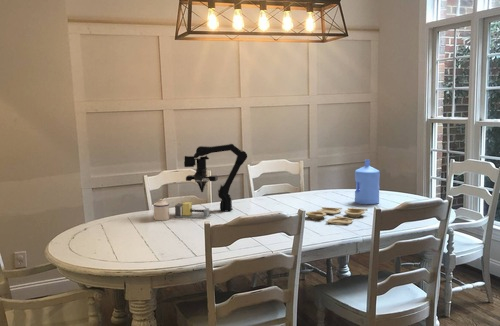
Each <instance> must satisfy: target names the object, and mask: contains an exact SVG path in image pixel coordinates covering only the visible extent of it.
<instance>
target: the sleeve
mask: <svg viewBox="0 0 500 326" xmlns="http://www.w3.org/2000/svg"><path fill="white" fill-rule="evenodd" d="M190 209H193V202H192V201H191V202H190V201H185V202H183V215H188V216H190V215H191V214H193V212H190Z"/></svg>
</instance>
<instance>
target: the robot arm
mask: <svg viewBox="0 0 500 326" xmlns="http://www.w3.org/2000/svg"><path fill="white" fill-rule="evenodd" d="M195 151H196V152H195V154H194V155H193V156H192V155H184V164H183V165H184V166H183V167H184V168H194V167H195V166H196V169H195V173H194V174H188V175H187V176H185V181H186V182H187V181H188V182H191V181H193V180H194V182H195V183H197V185H198V186H199V190H200V192H201V193H203V192H204V190H205V187H206V185H207V183H208V182H209V181H210V182H217V181H218V178H219V177H218V175H212V174H211V175H209V176H208V174H207V169H208V168H207V160H209V159H210V158H209V157H208V155H209V154H212V153H221V152H229V151H230V152H232V153H233V154H235V155H236V157H235V161H234V163H233V166H232V167H231V170H230V172H229V174H228V175H227V178H226V180H225V181H224V183H223V185H222V184H220V185H219V188H218V189H217V194H218V198H219V199H220V203H219V210H220V212H232V210H233V200H232V196H231V195H230V194H229V192H230V187H231V186H232V184H233V182H234V179H235V178H236V175H237V174H238V172H239V170H240V168H241V166H242V165H243V164H244V163H245V162H246V160H247V159H248V153H247V152H246V151H245V150H241V149H240V148H239V147H237V146H235V144H234V143H228V144H221V145H212V146H208V145H200V146H197V147H196V150H195Z"/></svg>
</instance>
